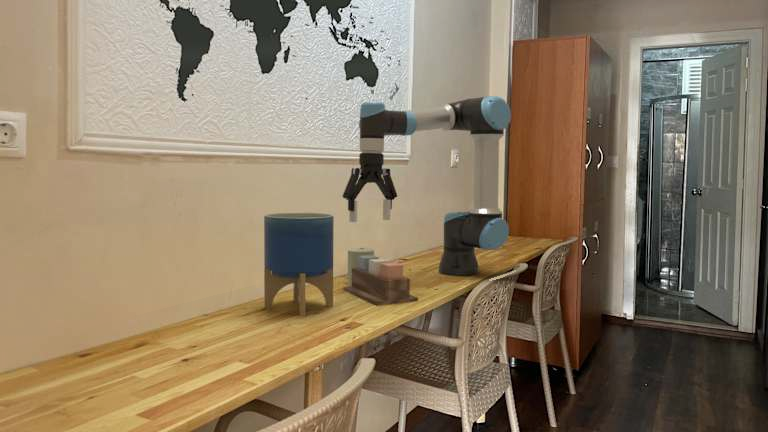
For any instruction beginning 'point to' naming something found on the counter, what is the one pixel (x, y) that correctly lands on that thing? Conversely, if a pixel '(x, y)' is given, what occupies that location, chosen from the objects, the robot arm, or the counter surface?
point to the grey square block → (365, 262)
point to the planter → (298, 255)
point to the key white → (376, 265)
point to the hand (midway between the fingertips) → (370, 221)
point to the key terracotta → (391, 271)
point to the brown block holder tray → (379, 288)
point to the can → (356, 259)
